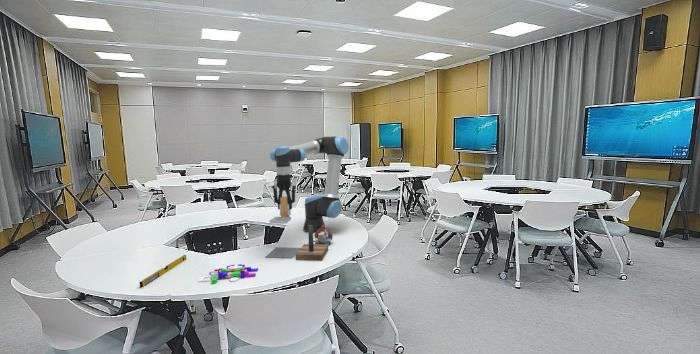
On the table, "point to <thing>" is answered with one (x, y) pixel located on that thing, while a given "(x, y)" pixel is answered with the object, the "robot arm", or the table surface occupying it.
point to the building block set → (230, 273)
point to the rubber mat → (283, 252)
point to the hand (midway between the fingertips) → (285, 215)
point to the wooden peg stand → (311, 249)
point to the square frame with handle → (282, 212)
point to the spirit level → (162, 271)
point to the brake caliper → (323, 236)
